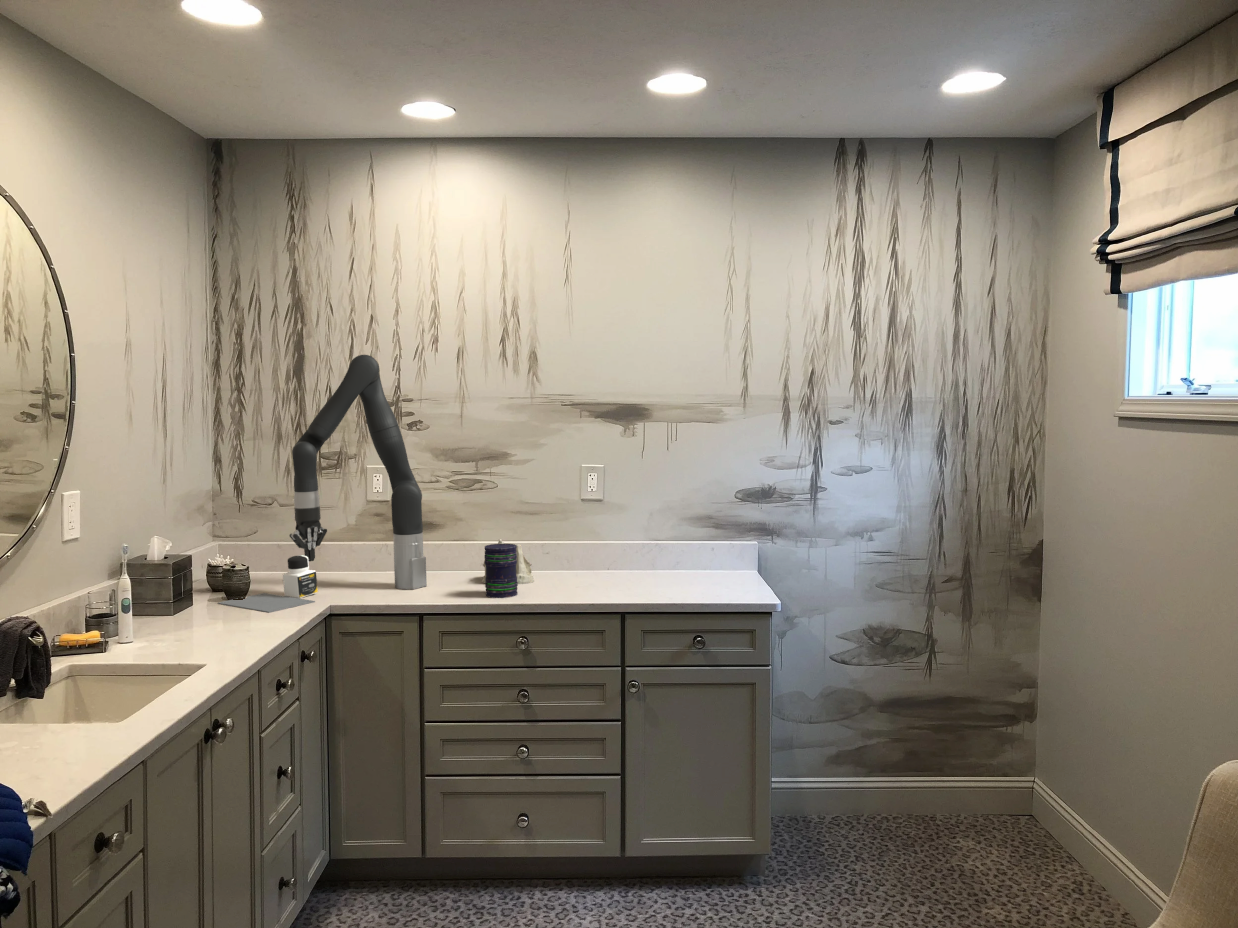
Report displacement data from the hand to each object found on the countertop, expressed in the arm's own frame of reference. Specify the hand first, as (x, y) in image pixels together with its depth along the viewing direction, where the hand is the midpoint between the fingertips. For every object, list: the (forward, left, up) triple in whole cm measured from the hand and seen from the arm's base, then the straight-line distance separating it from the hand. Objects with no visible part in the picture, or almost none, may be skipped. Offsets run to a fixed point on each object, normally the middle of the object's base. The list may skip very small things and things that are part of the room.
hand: (310, 560), depth 294 cm
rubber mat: (0, +16, -10) cm, 19 cm away
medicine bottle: (0, +4, -10) cm, 11 cm away
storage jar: (-54, -27, -10) cm, 62 cm away
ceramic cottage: (-42, -45, -10) cm, 62 cm away
